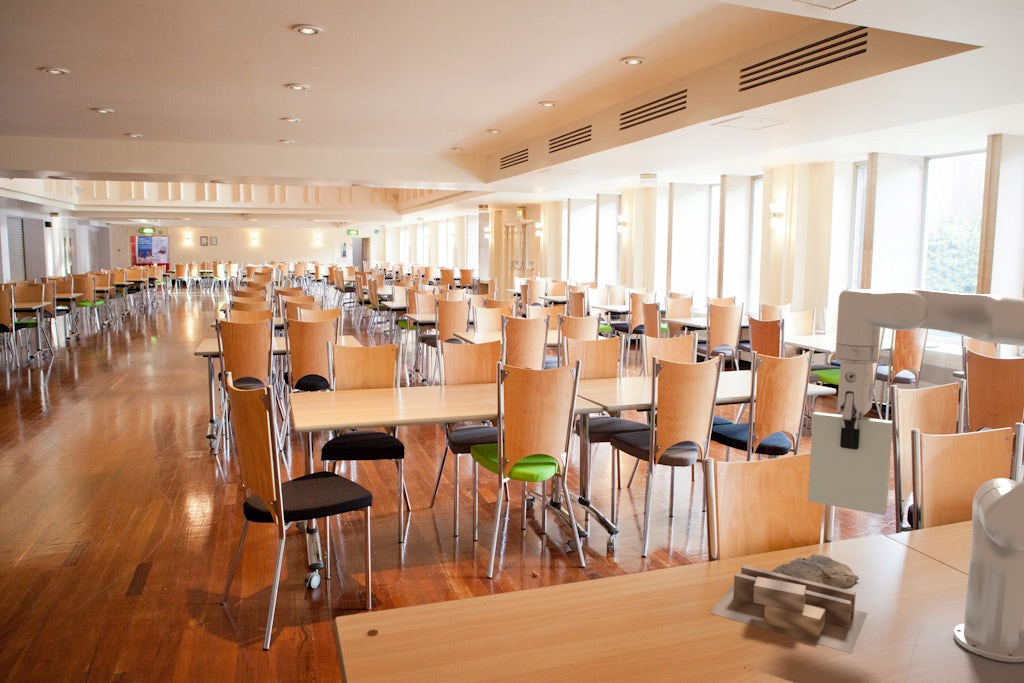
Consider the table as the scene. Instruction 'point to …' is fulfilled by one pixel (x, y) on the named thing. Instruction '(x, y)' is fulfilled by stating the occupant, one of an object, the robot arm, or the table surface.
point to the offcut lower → (797, 619)
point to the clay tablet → (819, 571)
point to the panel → (850, 464)
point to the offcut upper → (779, 594)
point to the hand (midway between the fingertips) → (850, 445)
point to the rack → (837, 602)
